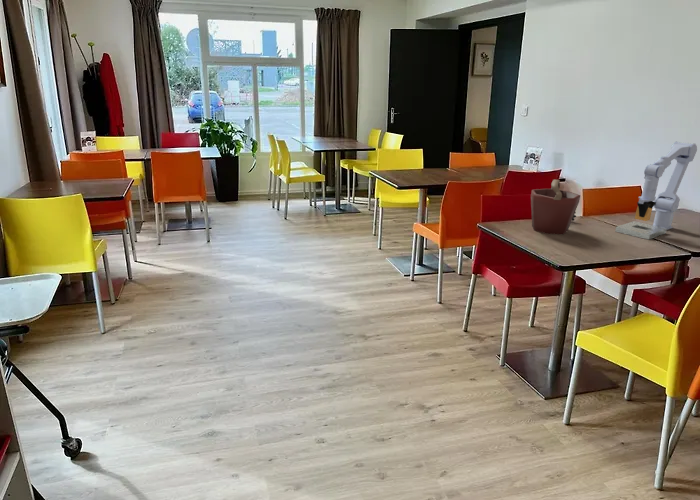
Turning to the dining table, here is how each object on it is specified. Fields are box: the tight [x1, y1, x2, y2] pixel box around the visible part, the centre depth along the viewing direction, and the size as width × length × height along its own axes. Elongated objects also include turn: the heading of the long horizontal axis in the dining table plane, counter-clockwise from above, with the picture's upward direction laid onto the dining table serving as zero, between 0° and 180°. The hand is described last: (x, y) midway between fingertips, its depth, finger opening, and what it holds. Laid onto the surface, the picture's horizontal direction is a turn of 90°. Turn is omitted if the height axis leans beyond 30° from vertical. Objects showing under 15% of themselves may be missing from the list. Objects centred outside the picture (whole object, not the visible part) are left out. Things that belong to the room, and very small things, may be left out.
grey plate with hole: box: [615, 220, 668, 240], centre depth 254 cm, size 20×16×2 cm
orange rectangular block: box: [634, 206, 653, 222], centre depth 252 cm, size 4×6×6 cm
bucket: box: [530, 179, 581, 235], centre depth 250 cm, size 24×22×25 cm
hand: (643, 216), depth 252 cm, fingers closed on orange rectangular block, 4 cm apart
